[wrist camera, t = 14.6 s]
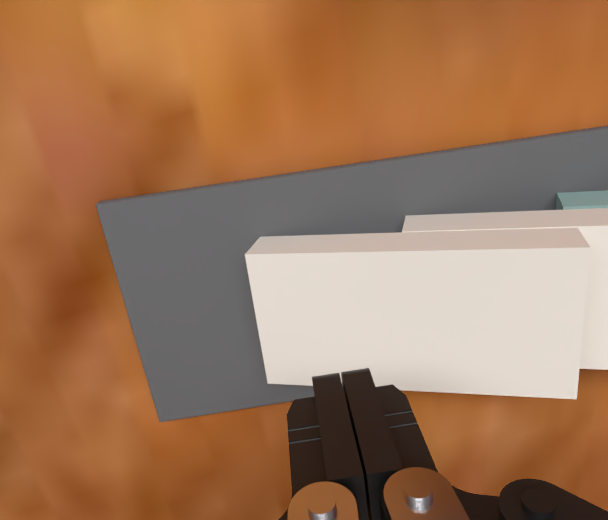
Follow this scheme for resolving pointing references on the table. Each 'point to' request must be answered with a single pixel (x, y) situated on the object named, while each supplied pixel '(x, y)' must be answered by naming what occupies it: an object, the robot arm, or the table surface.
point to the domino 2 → (591, 222)
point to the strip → (291, 222)
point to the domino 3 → (582, 200)
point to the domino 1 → (425, 309)
